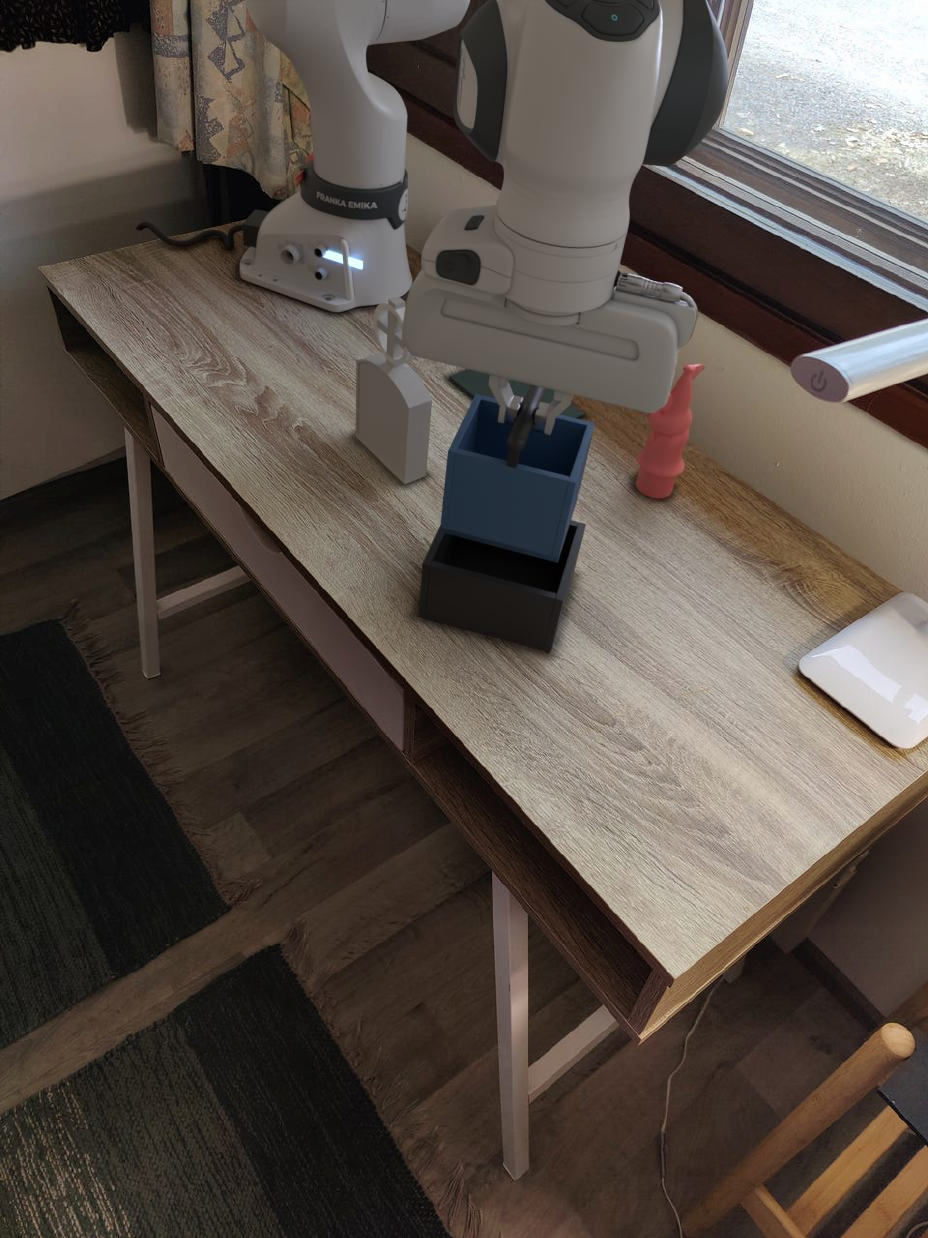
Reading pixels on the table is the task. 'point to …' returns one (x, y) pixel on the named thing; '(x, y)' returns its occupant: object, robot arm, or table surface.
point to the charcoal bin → (498, 588)
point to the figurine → (667, 439)
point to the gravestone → (393, 399)
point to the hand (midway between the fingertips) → (525, 424)
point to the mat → (479, 385)
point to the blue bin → (514, 478)
